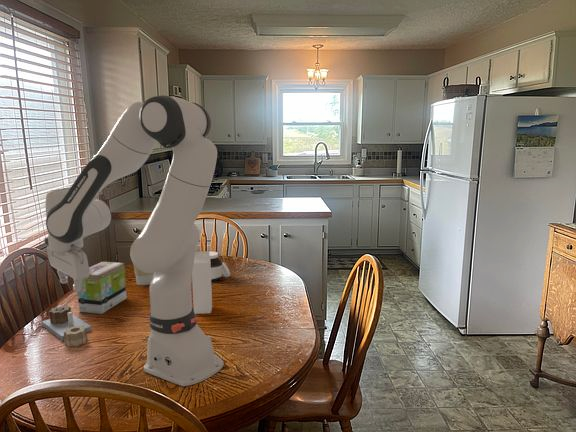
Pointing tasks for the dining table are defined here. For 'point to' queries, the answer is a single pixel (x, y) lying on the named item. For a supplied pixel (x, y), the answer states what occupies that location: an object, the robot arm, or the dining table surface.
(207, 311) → the milk
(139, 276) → the coffee cup
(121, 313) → the dining table surface
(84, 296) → the tea box
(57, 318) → the walnut gear
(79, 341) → the birch gear
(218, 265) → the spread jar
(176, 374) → the robot arm
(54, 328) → the gear board
